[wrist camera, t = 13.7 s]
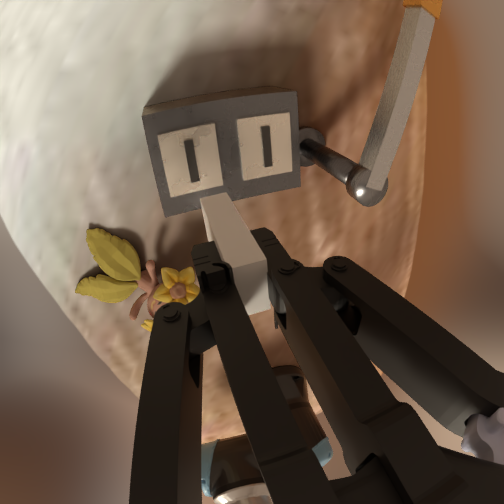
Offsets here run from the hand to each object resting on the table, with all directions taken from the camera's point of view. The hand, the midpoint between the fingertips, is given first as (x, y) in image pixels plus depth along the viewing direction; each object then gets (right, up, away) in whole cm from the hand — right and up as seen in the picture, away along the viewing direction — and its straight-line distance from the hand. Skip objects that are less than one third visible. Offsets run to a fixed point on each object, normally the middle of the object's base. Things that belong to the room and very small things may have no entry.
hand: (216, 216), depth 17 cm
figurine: (-14, -5, +22) cm, 26 cm away
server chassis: (-2, +11, +15) cm, 19 cm away
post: (+8, +11, +19) cm, 24 cm away
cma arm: (+14, +13, +5) cm, 20 cm away
